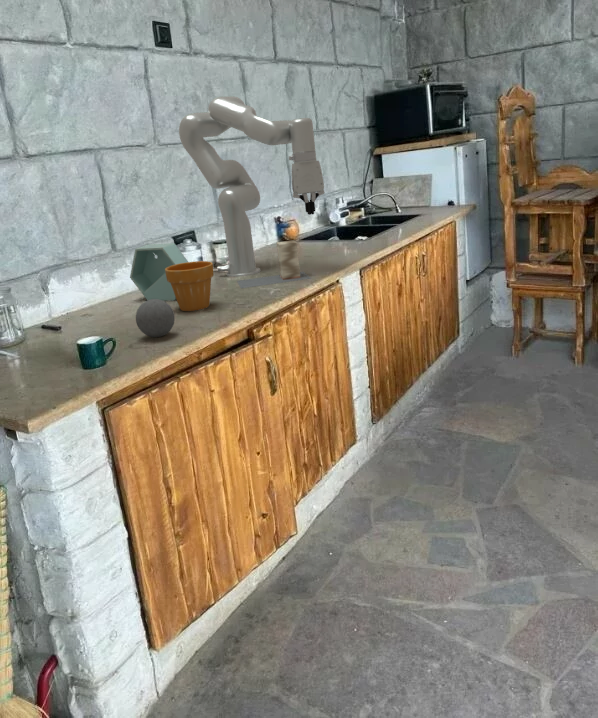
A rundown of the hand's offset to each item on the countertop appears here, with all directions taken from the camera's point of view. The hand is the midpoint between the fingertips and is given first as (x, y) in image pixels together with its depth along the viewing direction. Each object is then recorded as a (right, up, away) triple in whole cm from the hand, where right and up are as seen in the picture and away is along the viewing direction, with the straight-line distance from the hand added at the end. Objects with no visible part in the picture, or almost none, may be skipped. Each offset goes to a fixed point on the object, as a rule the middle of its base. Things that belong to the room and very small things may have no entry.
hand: (310, 213), depth 232 cm
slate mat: (-13, -22, +4) cm, 26 cm away
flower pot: (-36, -34, -22) cm, 54 cm away
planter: (-48, -29, -4) cm, 56 cm away
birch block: (-7, -21, +5) cm, 23 cm away
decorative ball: (-41, -43, -50) cm, 78 cm away
